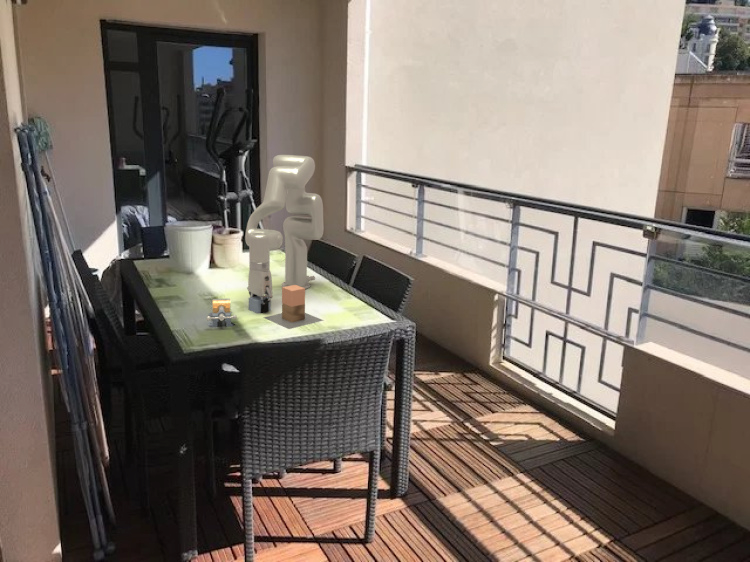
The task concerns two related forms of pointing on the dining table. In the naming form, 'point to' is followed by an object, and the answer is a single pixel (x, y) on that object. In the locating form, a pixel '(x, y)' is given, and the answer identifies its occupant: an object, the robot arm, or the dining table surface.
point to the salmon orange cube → (293, 295)
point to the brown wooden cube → (293, 312)
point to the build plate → (289, 325)
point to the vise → (221, 313)
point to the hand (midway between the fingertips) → (259, 310)
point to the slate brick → (256, 304)
